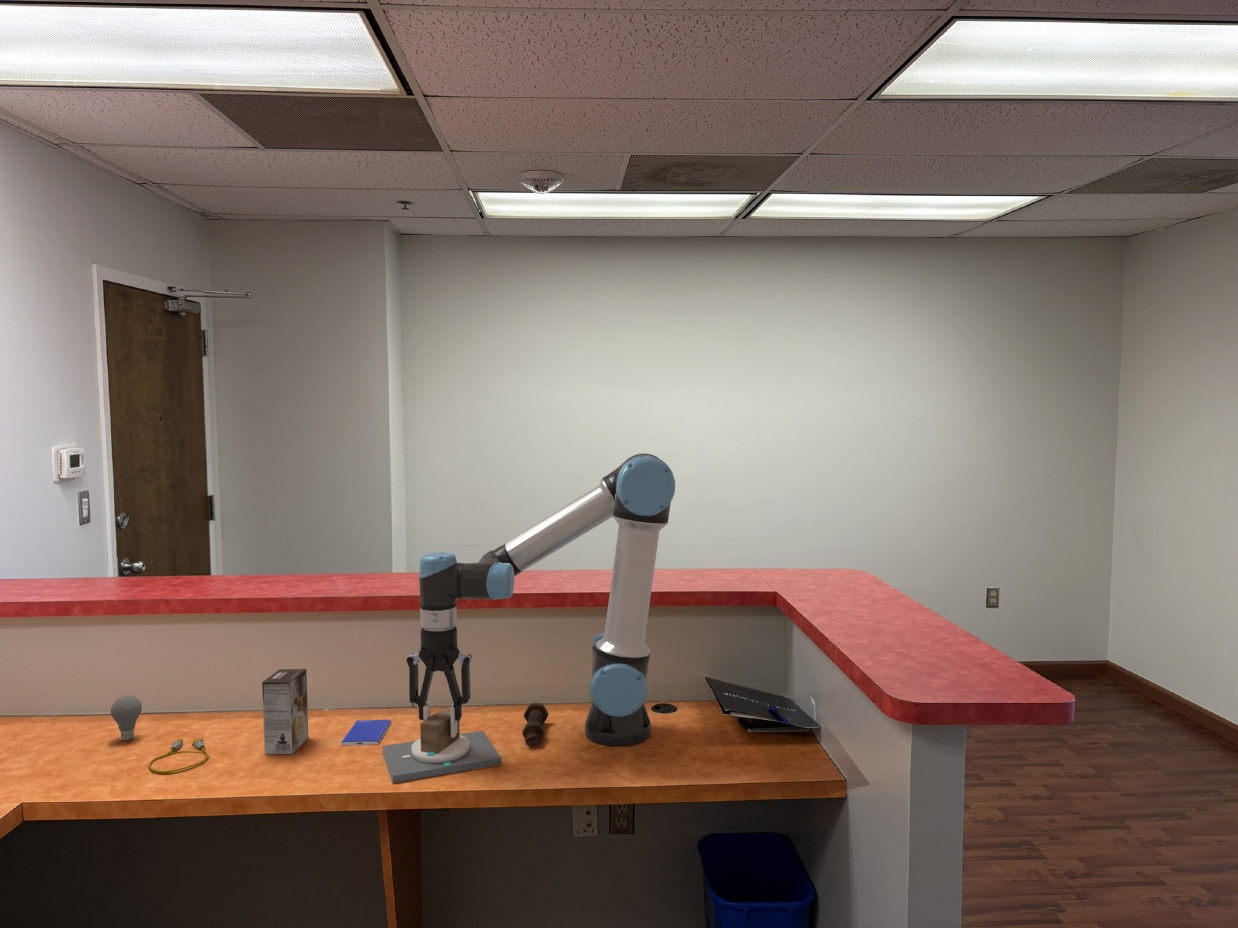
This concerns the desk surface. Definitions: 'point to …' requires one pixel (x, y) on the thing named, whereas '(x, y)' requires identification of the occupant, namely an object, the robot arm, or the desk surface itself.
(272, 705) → the coffee box
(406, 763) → the dial plate
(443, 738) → the dial
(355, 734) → the hard drive
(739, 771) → the desk surface
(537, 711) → the bolt
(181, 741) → the extension cord
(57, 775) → the desk surface
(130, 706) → the light bulb
